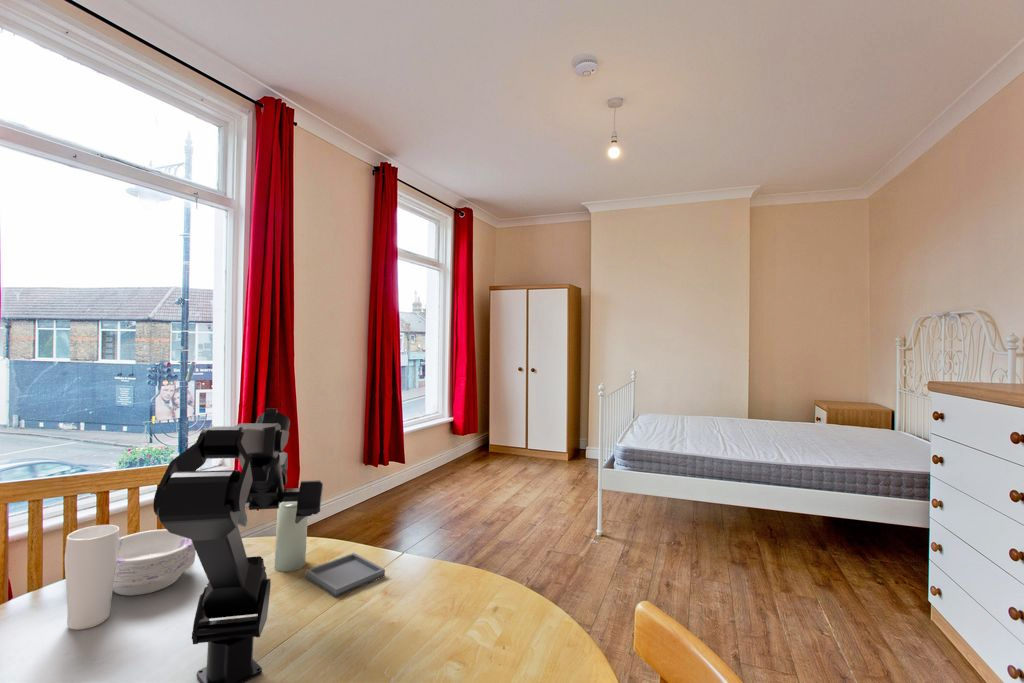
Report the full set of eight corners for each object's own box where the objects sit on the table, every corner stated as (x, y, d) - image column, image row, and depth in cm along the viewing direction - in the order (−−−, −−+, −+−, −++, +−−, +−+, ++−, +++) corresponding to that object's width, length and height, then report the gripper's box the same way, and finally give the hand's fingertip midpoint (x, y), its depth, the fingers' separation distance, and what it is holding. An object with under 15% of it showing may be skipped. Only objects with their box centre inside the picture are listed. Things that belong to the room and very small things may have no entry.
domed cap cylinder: (310, 564, 102) (313, 504, 102) (282, 574, 97) (286, 510, 97) (296, 556, 105) (299, 497, 106) (269, 565, 101) (272, 503, 101)
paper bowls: (210, 577, 94) (212, 538, 94) (119, 614, 81) (122, 568, 81) (169, 558, 102) (171, 521, 102) (79, 589, 88) (81, 546, 88)
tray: (384, 576, 98) (384, 569, 98) (335, 597, 89) (336, 589, 89) (353, 559, 105) (353, 552, 105) (305, 577, 96) (305, 570, 96)
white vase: (82, 637, 74) (88, 542, 75) (49, 630, 76) (54, 537, 76) (125, 614, 81) (130, 526, 81) (94, 607, 82) (99, 522, 83)
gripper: (325, 439, 92) (326, 485, 102) (216, 440, 87) (229, 488, 96) (318, 488, 84) (320, 534, 93) (198, 493, 79) (213, 541, 88)
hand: (271, 522), depth 93 cm, fingers open, 9 cm apart
